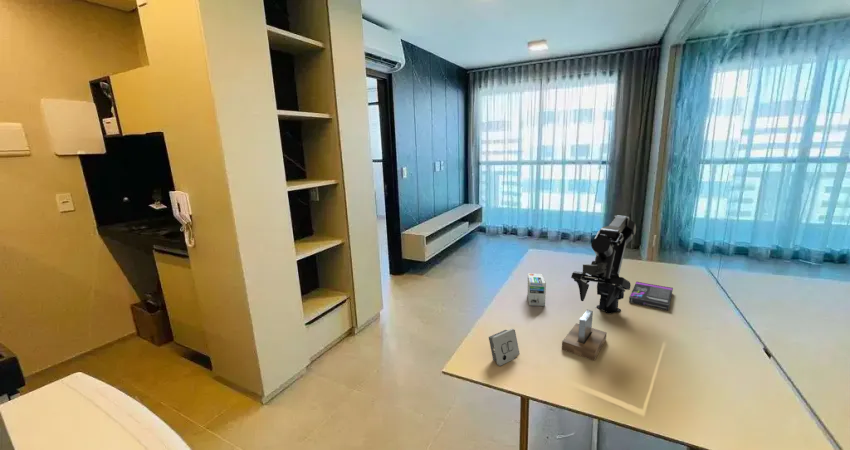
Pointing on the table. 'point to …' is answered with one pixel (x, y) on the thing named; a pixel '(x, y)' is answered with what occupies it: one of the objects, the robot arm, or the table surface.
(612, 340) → the table surface
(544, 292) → the light bulb box
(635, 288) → the box
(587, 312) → the gray rectangular metal block
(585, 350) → the walnut slot box
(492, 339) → the electrical switch
